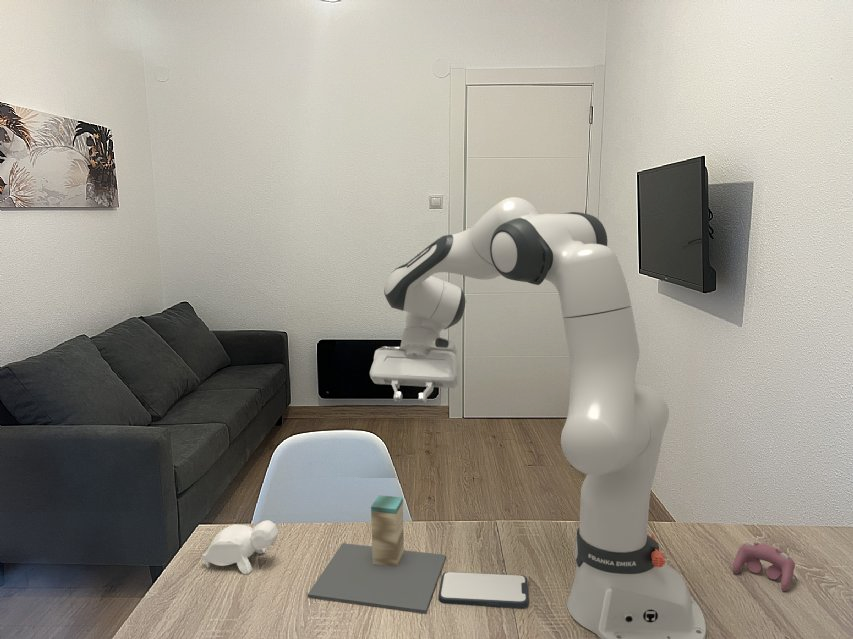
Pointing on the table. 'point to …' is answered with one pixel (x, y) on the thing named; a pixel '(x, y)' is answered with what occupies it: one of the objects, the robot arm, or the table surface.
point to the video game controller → (757, 552)
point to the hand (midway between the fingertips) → (409, 401)
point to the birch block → (387, 530)
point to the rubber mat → (379, 579)
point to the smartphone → (484, 590)
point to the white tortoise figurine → (240, 544)
